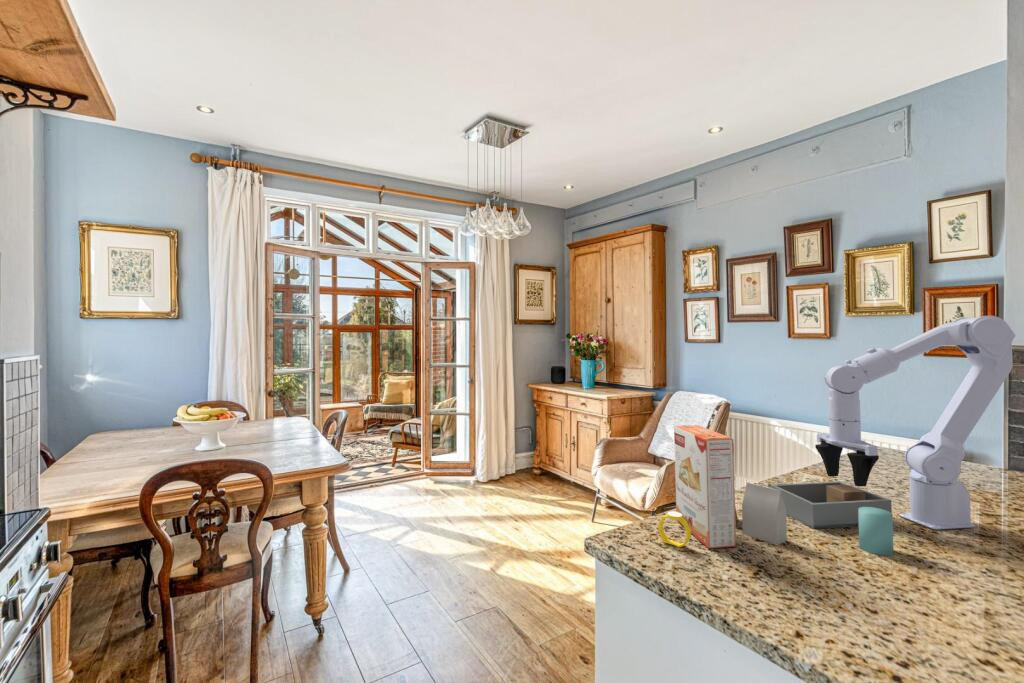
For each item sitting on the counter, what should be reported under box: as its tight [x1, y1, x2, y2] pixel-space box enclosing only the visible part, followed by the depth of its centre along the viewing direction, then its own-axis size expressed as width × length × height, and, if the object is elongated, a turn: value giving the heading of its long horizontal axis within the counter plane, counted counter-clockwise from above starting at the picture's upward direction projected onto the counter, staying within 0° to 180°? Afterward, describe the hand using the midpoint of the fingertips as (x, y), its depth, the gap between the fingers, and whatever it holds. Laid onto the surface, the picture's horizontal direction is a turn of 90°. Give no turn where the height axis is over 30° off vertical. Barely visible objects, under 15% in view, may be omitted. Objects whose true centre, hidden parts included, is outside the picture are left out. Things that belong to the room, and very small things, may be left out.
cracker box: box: [673, 424, 737, 549], centre depth 95 cm, size 14×6×21 cm, turn 5°
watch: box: [657, 511, 692, 548], centre depth 90 cm, size 6×3×6 cm, turn 46°
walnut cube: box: [826, 484, 866, 502], centre depth 104 cm, size 5×5×5 cm
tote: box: [769, 480, 893, 530], centre depth 104 cm, size 18×14×5 cm
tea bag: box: [741, 482, 788, 546], centre depth 93 cm, size 4×7×10 cm, turn 33°
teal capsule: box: [858, 507, 894, 557], centre depth 86 cm, size 5×5×7 cm
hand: (846, 480), depth 104 cm, fingers open, 7 cm apart
